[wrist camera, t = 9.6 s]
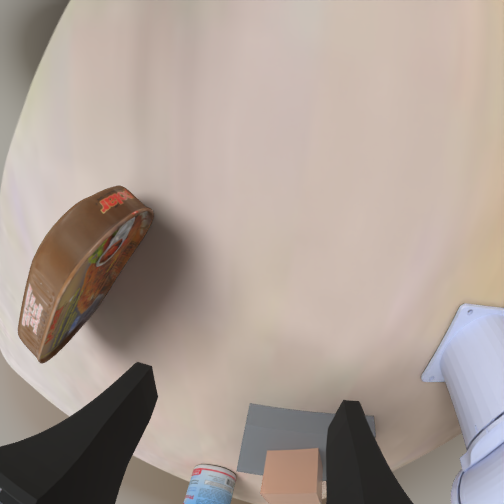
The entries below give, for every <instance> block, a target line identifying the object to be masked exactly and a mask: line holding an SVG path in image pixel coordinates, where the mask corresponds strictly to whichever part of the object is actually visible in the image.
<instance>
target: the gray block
mask: <svg viewBox="0 0 504 504" xmlns="http://www.w3.org/2000/svg"><path fill="white" fill-rule="evenodd" d="M334 416H335V414H329V413H318V412H308V411H299V410H291V409H284V408H276V407H270V406H263V405H257V404H251V403H250V406H249V410H248V415H247V420H246V425H245V430H244V435H243V440H242V446H241V451H240V456H239V461H238V466H237V471H238V472H244V473H250V474H256V475H263V474H264V467H265V461H266V455H267V451H272V450H297V449H311V448H319V453H320V457H321V461H322V465H323V478H322V481H326V443H327V432H328V427H329V425H330V423H331V422H332V420H333V418H334ZM365 417H366V419H367V422H368V424H369V426H370V429H371V431H372V433H373V435H374V438H375V437H376V433H375V424H374V416H365Z"/></svg>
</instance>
